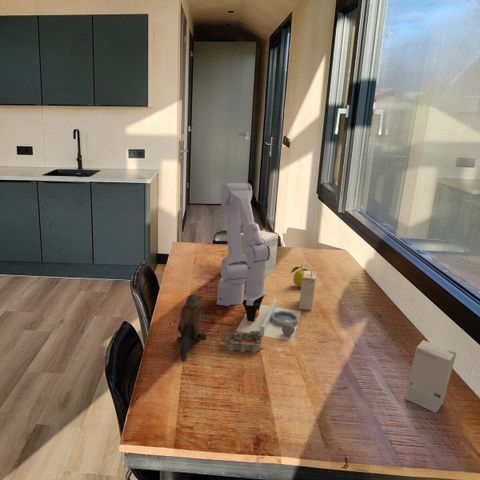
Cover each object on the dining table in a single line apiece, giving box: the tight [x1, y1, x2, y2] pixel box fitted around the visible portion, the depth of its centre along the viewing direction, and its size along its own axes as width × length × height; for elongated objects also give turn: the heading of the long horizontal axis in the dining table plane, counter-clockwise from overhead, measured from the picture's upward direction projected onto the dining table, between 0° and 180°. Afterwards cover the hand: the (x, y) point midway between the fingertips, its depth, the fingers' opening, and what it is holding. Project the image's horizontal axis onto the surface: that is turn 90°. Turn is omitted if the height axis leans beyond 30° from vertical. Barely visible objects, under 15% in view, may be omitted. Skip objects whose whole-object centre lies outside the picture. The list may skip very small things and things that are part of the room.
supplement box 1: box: [236, 229, 279, 277], centre depth 192 cm, size 13×13×18 cm
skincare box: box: [403, 340, 457, 414], centre depth 106 cm, size 8×6×15 cm
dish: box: [271, 311, 300, 327], centre depth 145 cm, size 9×9×2 cm
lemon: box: [290, 264, 309, 288], centre depth 177 cm, size 7×6×10 cm
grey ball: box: [282, 323, 296, 336], centre depth 135 cm, size 4×4×4 cm
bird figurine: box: [176, 294, 209, 363], centre depth 127 cm, size 13×10×20 cm
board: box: [235, 304, 302, 342], centre depth 145 cm, size 18×23×1 cm
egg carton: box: [225, 331, 262, 354], centre depth 129 cm, size 11×8×4 cm
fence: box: [260, 298, 278, 337], centre depth 144 cm, size 1×23×3 cm, turn 165°
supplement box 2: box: [298, 270, 317, 311], centre depth 158 cm, size 8×5×13 cm, turn 168°
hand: (252, 317), depth 145 cm, fingers open, 6 cm apart
